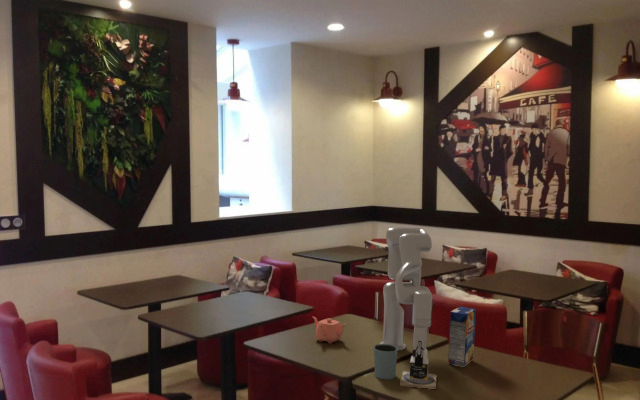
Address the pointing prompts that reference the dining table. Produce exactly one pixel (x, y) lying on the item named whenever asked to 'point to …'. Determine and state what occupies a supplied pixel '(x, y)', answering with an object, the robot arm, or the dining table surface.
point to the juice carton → (461, 336)
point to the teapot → (328, 330)
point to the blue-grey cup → (385, 361)
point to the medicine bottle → (417, 371)
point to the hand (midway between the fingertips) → (419, 361)
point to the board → (418, 381)
